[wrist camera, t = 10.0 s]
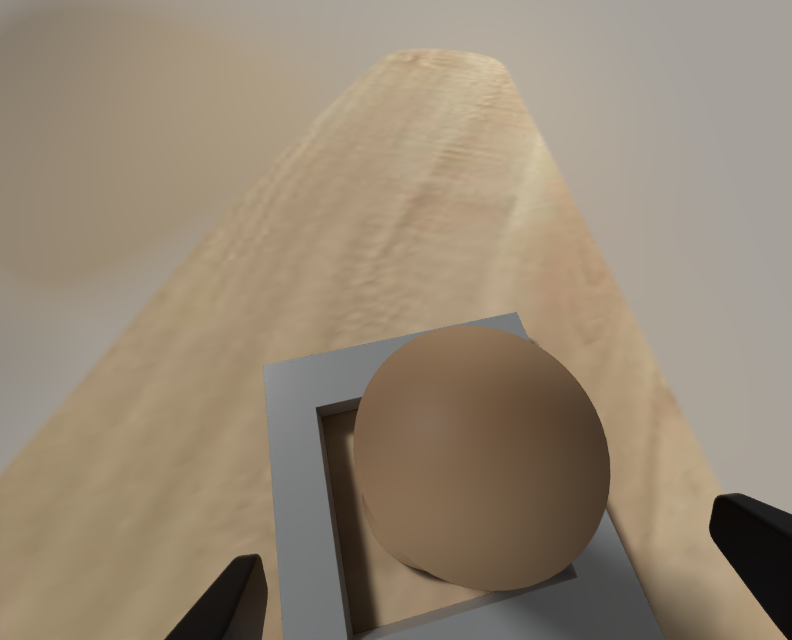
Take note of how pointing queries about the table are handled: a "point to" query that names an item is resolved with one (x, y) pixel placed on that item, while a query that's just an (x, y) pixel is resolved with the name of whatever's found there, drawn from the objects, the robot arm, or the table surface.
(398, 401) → the cable reel
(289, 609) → the gray square washer
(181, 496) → the table surface
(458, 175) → the table surface
